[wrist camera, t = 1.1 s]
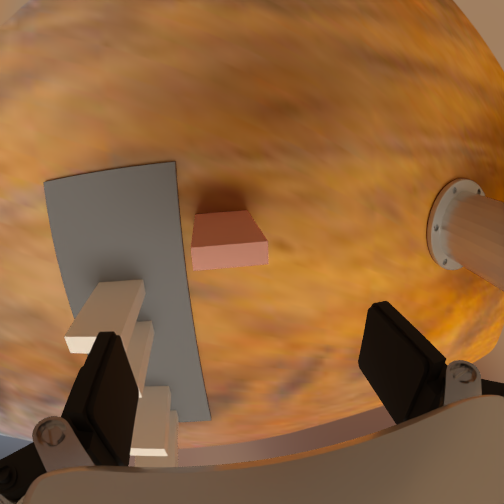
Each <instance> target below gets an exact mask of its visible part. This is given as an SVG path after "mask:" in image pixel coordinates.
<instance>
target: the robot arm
mask: <svg viewBox="0 0 504 504" xmlns="http://www.w3.org/2000/svg"><path fill="white" fill-rule="evenodd" d="M427 241H428V247H429V251H430V254H431V256H432V258H433V260H434V261H435V262H436V263H437V264H438V265H440V266H441V267H443V268H445V269H447V270H457V269H460V268H462V267H465V268H467V269H469V270H470V271H472V272H474V273H475V274H477V275H478V276H480V277H482V278H483V279H485V280H487V281H488V282H490V283H491V284H493V285H495V286H496V287H498V288H499V289H501V290H502V291H504V202H501V201H498V200H495V199H492V198H488V197H485V194H484V192H483V190H482V188H481V187H480V186H479V185H478V184H477V183H475V182H474V181H472V180H468V179H456V180H454V181H452V182H450V183H449V184H448V185H446V186H445V187H444V188H443V190H442V191H441V192H440V193H439V195H438V197H437V199H436V200H435V202H434V205H433V207H432V210H431V213H430V217H429V221H428V228H427ZM445 361H446V358H445V357H444V356H443V355H442V354H441V353H440V352H439V351H438V350H437V349H436V348H435V347H434V346H433V345H432V344H431V343H430V342H429V341H428V340H427V339H426V338H425V337H424V336H423V335H422V334H421V333H420V332H419V331H418V330H417V329H416V328H415V327H414V326H413V325H412V324H411V323H410V322H409V321H408V320H407V319H406V318H405V317H403V316H402V315H401V314H400V313H399V312H398V311H397V310H396V309H395V308H394V307H393V306H392V305H391V304H390V303H389V302H387V301H383V302H378V303H373V304H372V306H371V307H370V308H369V309H368V312H367V318H366V324H365V330H364V335H363V340H362V345H361V350H360V355H359V360H358V364H359V368H360V369H361V371H362V372H363V374H364V375H365V377H366V378H367V380H368V381H369V383H370V385H371V386H372V388H373V389H374V391H375V392H376V394H377V395H378V397H379V398H380V400H381V401H382V403H383V404H384V406H385V408H386V409H387V411H388V412H389V414H390V415H391V417H392V418H393V420H394V421H395V423H396V424H397V425H395V426H392V427H389V428H387V429H384V430H381V431H378V432H375V433H372V434H369V435H366V436H363V437H359V438H357V439H353V440H349V441H346V442H342V443H339V444H335V445H331V446H327V447H324V448H319V449H315V450H311V451H307V452H302V453H297V454H292V455H287V456H281V457H276V458H270V459H264V460H257V461H249V462H241V463H233V464H222V465H210V466H192V467H129V466H128V465H129V458H130V450H131V443H132V436H133V429H134V423H135V417H136V410H137V404H138V399H139V389H138V386H137V383H136V381H135V378H134V375H133V372H132V369H131V367H130V364H129V361H128V358H127V355H126V352H125V349H124V346H123V342H122V339H121V337H120V335H116V333H115V332H114V331H106V332H99V333H98V335H97V337H96V339H95V341H94V344H93V346H92V348H91V350H90V352H89V355H88V357H87V359H86V362H85V364H84V366H83V367H81V369H80V370H79V373H78V375H77V378H76V380H75V382H74V385H73V387H72V390H71V392H70V395H69V397H68V400H67V402H66V405H65V407H64V410H63V413H62V415H61V417H57V416H51V417H47V418H44V419H43V420H41V421H39V422H38V424H37V425H36V426H35V428H34V430H33V434H32V437H33V443H31V444H29V445H27V446H26V447H24V448H22V449H20V450H18V451H16V452H14V453H13V454H11V455H9V456H7V457H5V458H3V459H1V460H0V504H504V383H498V382H494V381H489V380H484V379H481V375H480V372H479V370H478V369H477V367H476V366H474V365H473V364H471V363H470V362H467V361H463V360H457V361H453V362H451V363H450V364H449V365H448V366H447V365H446V364H445Z"/></svg>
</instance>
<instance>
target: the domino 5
mask: <svg viewBox="0 0 504 504" xmlns="http://www.w3.org/2000/svg"><path fill="white" fill-rule="evenodd" d="M191 254H192V263H193V271H196V270H208V269H219V268H231V267H242V266H253V265H264V264H268V241H267V239H266V238H265V236H264V235H263V233H262V232H261V230H260V228H259V227H258V225H257V224H256V222H255V221H254V219H253V218H252V216H251V215H250V213H249V212H248V210H243V211H229V212H216V213H204V214H195V221H194V228H193V235H192V243H191Z"/></svg>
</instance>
